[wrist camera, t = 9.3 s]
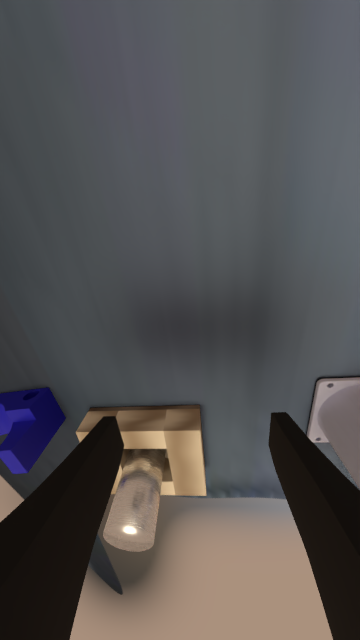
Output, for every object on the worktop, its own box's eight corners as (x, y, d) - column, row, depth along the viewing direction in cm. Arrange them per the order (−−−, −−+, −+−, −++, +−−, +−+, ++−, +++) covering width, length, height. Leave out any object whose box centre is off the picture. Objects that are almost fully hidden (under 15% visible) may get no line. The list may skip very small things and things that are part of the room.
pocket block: (199, 404, 21) (200, 430, 18) (205, 466, 25) (206, 495, 22) (90, 407, 22) (75, 432, 20) (111, 466, 26) (101, 493, 24)
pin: (165, 430, 22) (150, 527, 15) (168, 454, 24) (156, 553, 16) (130, 429, 23) (98, 523, 15) (135, 453, 24) (108, 549, 17)
